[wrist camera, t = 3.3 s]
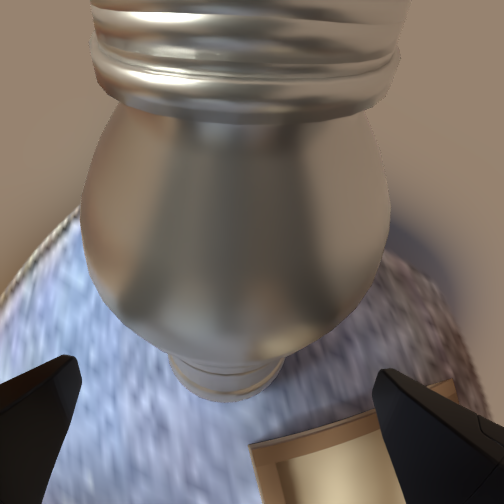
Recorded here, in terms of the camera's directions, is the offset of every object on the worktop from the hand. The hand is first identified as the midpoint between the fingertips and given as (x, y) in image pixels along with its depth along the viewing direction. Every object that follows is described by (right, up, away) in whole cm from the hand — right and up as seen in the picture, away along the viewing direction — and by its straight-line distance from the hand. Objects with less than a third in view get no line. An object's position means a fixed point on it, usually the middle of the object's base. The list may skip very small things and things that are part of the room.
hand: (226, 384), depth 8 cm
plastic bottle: (-1, -3, +11) cm, 12 cm away
